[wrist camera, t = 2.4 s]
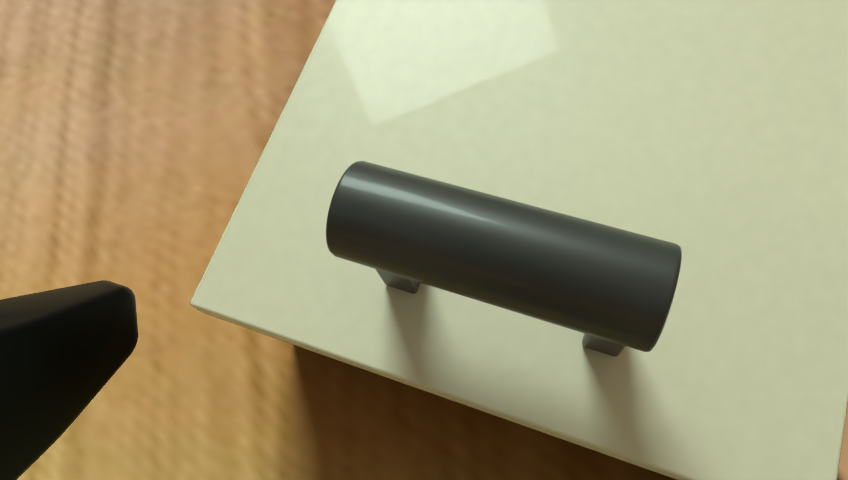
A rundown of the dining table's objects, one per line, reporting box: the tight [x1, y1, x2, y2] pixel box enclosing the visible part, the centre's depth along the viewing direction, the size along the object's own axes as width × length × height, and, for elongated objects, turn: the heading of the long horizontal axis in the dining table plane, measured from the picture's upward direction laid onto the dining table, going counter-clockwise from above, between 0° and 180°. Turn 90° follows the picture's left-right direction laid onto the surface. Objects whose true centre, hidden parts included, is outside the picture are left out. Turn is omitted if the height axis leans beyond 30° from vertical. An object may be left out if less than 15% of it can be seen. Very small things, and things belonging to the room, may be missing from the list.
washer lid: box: [190, 0, 848, 480], centre depth 12 cm, size 12×12×4 cm
